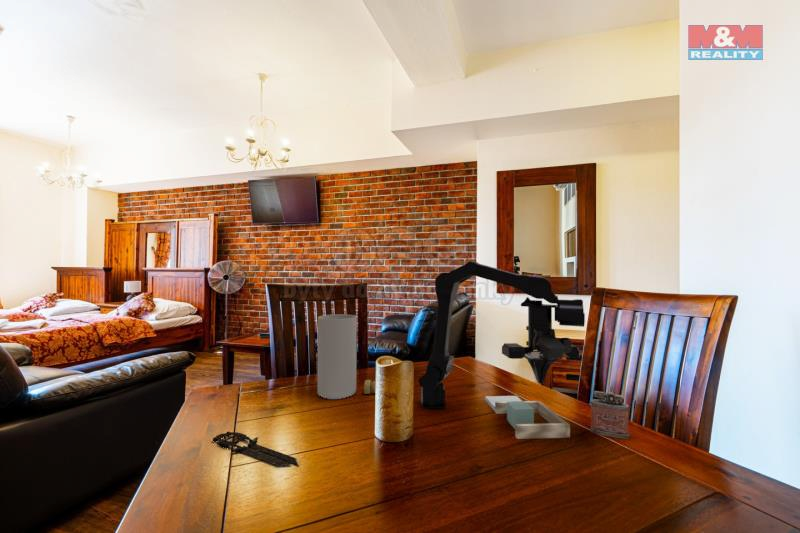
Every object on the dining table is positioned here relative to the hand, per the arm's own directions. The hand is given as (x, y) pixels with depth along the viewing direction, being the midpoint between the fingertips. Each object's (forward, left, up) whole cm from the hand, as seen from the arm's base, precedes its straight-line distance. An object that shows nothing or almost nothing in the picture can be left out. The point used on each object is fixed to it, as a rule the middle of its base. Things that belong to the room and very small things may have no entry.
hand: (540, 383), depth 87 cm
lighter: (+15, -6, -11) cm, 19 cm away
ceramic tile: (-4, +12, -10) cm, 17 cm away
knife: (-69, -10, -11) cm, 71 cm away
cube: (-5, 0, -11) cm, 12 cm away
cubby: (-3, 0, -10) cm, 11 cm away
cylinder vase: (-56, +25, -11) cm, 63 cm away
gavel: (-41, +32, -11) cm, 54 cm away
